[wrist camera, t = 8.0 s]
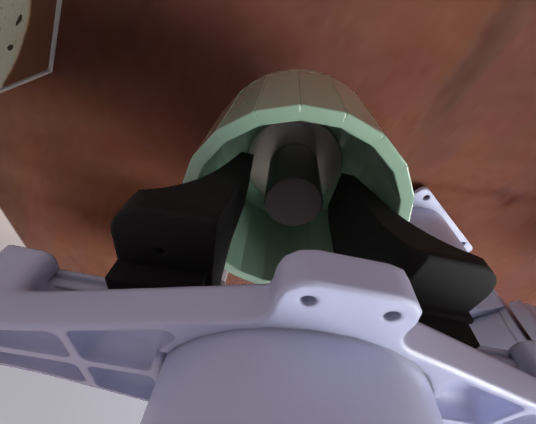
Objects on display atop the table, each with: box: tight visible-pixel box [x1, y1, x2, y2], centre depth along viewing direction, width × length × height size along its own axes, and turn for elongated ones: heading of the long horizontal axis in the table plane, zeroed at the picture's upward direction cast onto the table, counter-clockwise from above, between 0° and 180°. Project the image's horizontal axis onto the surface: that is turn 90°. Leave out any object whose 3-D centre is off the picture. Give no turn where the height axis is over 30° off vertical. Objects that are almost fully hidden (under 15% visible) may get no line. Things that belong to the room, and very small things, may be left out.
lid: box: [247, 121, 342, 226], centre depth 13 cm, size 5×5×4 cm
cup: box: [182, 69, 414, 284], centre depth 13 cm, size 9×9×6 cm
